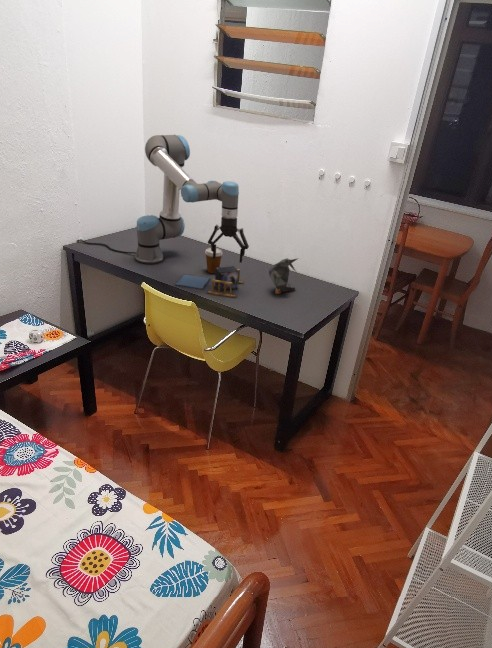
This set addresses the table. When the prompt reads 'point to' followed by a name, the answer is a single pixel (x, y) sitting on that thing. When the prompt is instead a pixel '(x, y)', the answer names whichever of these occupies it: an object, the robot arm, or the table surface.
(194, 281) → the felt mat
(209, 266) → the disposable coffee cup
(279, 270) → the bird figurine
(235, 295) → the rack
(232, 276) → the small box
